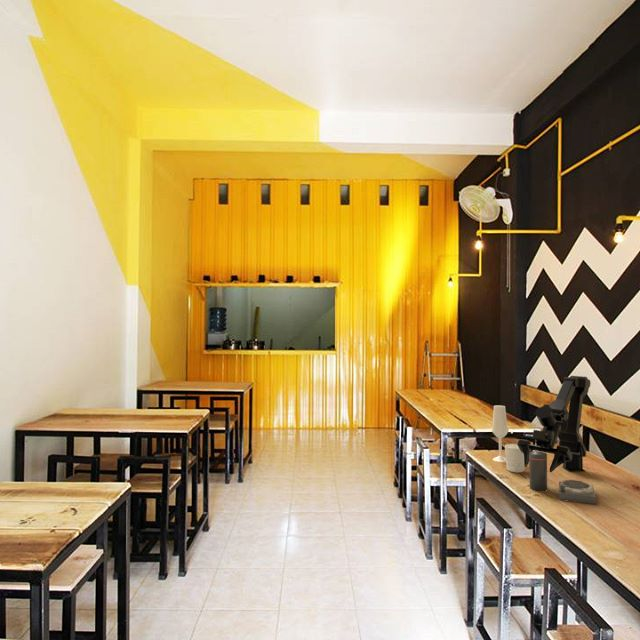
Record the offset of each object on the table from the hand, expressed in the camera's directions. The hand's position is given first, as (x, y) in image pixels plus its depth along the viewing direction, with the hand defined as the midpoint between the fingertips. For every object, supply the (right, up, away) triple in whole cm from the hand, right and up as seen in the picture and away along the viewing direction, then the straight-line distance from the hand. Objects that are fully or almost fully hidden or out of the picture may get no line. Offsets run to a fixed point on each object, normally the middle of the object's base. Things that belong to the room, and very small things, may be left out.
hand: (537, 469), depth 183 cm
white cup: (+1, -8, +23) cm, 25 cm away
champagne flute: (0, -8, +38) cm, 39 cm away
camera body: (+10, -7, -8) cm, 15 cm away
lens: (+1, -7, 0) cm, 7 cm away
